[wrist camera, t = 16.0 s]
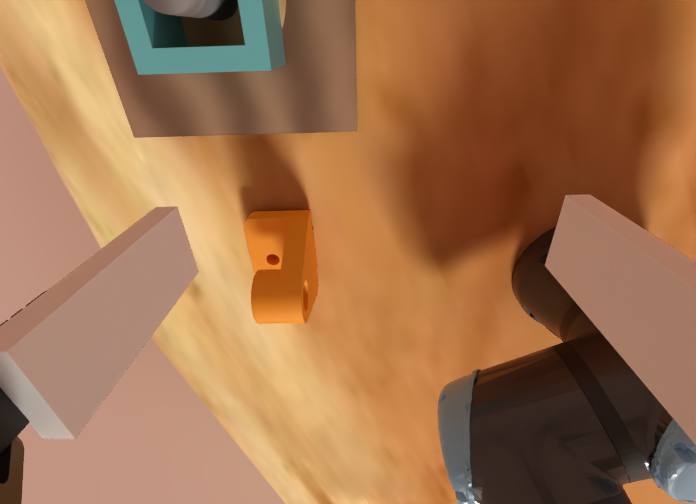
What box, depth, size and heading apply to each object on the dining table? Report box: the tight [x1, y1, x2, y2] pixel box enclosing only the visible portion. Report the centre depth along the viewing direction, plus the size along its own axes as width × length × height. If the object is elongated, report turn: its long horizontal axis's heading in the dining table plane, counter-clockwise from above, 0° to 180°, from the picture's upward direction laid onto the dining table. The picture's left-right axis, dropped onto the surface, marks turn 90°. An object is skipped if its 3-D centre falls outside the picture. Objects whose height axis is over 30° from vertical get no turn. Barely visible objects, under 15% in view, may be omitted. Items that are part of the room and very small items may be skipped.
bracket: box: [244, 210, 318, 324], centre depth 37 cm, size 11×7×12 cm, turn 2°
